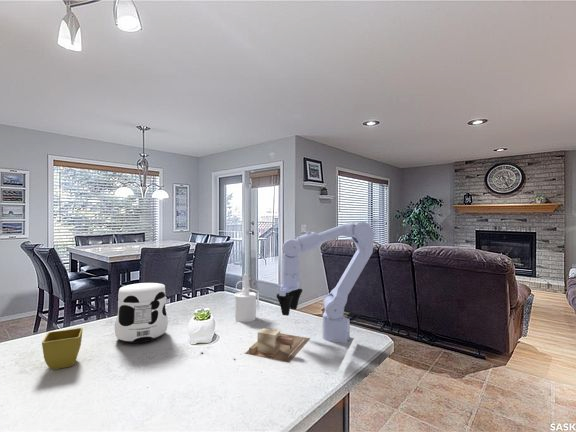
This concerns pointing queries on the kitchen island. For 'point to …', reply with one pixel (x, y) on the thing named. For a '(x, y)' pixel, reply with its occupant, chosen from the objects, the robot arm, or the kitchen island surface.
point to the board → (281, 349)
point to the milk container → (141, 312)
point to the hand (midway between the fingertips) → (289, 312)
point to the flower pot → (62, 348)
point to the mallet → (271, 341)
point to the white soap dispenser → (245, 303)
